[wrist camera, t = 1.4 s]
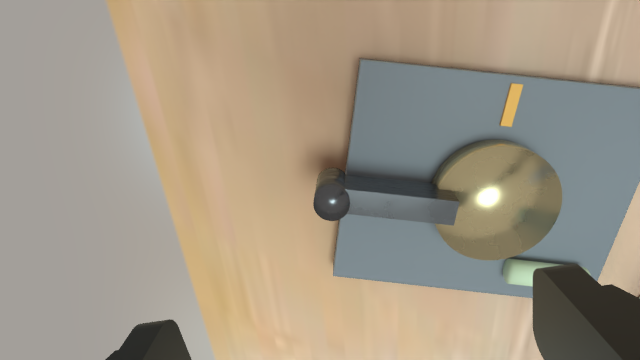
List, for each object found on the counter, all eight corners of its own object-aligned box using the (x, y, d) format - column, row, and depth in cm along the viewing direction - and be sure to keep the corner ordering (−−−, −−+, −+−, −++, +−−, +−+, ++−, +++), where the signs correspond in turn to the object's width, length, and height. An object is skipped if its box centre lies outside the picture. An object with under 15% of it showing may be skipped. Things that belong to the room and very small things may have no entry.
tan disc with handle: (564, 146, 28) (605, 167, 24) (528, 252, 31) (559, 288, 27) (323, 120, 28) (320, 136, 24) (312, 229, 32) (307, 260, 27)
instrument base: (655, 89, 29) (702, 97, 25) (574, 289, 35) (602, 320, 31) (359, 58, 29) (362, 61, 25) (333, 263, 35) (332, 290, 32)
